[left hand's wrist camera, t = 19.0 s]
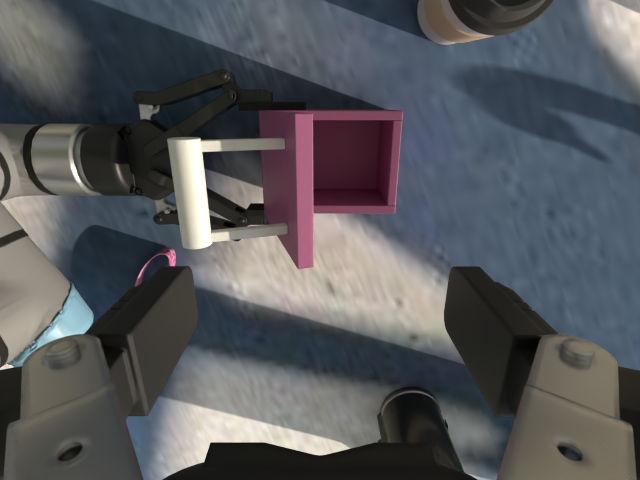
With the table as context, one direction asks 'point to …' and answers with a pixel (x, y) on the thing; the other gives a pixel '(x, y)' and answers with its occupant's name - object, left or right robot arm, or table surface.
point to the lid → (278, 184)
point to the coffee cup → (476, 18)
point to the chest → (355, 159)
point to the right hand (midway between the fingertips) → (305, 160)
